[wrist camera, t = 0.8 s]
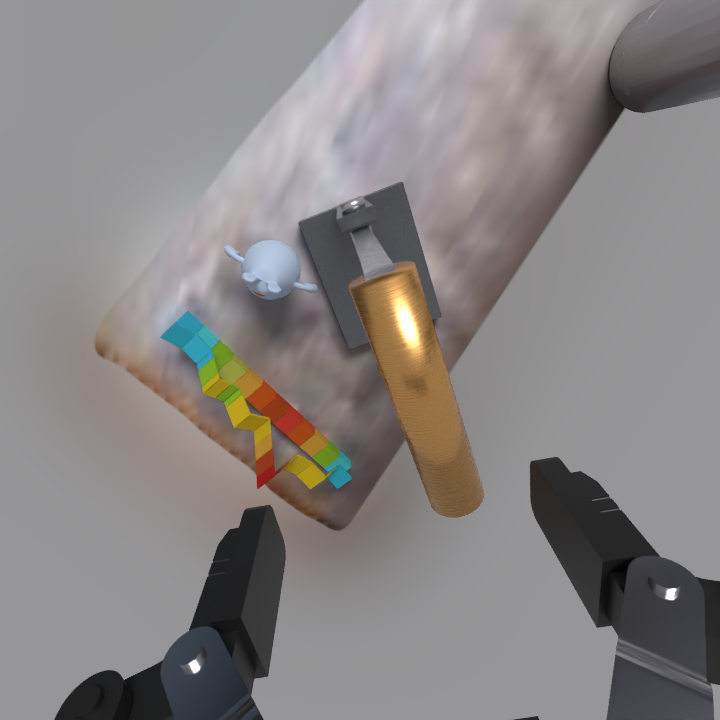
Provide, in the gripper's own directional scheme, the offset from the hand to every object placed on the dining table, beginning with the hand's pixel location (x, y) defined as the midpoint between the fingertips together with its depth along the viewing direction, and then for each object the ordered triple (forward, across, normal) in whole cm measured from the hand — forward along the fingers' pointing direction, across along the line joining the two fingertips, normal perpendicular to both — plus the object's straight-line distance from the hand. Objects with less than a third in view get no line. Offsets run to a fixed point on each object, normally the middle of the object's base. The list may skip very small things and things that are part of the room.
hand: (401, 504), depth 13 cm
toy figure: (+40, +9, -2) cm, 41 cm away
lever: (+26, -2, +1) cm, 26 cm away
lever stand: (+40, -2, +1) cm, 40 cm away
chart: (+40, +15, +16) cm, 46 cm away
